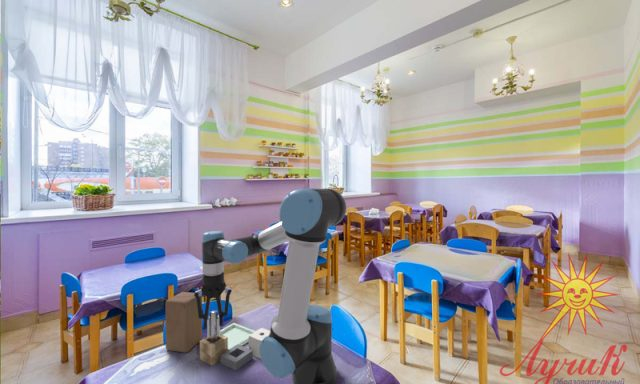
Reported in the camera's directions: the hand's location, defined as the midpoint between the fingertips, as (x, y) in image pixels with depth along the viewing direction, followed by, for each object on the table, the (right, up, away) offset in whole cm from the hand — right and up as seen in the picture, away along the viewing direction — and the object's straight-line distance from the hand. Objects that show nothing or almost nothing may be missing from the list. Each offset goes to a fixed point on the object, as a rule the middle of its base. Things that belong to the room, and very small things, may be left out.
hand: (213, 334), depth 101 cm
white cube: (+17, -9, +4) cm, 20 cm away
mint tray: (+3, -9, +13) cm, 15 cm away
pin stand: (+9, -9, -2) cm, 13 cm away
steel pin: (0, -8, 0) cm, 8 cm away
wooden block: (-15, -9, +8) cm, 19 cm away
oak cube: (0, -9, 0) cm, 9 cm away
